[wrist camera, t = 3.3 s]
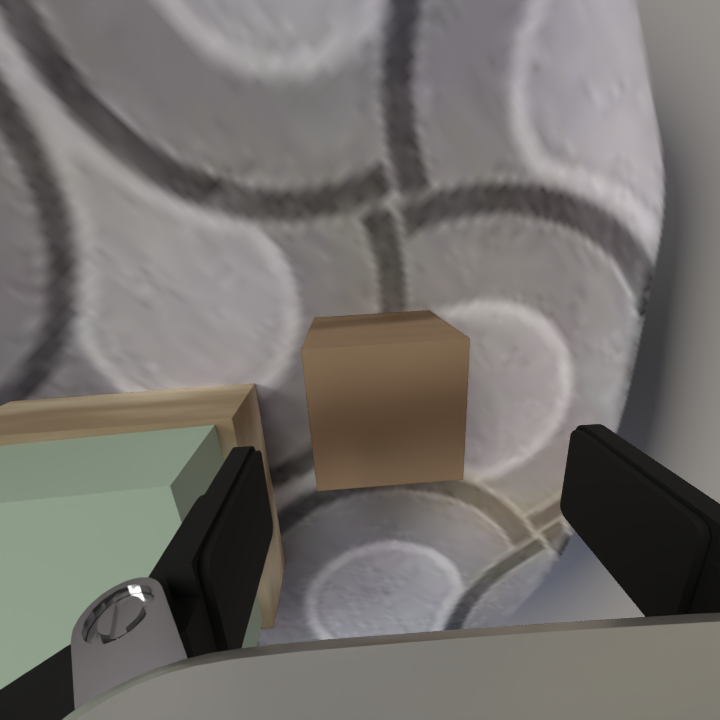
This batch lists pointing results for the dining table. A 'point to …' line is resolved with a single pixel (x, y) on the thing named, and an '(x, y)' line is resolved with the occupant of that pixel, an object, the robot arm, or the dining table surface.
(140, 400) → the maple base block
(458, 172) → the dining table surface
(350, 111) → the dining table surface
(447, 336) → the walnut cube
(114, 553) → the sage top block
